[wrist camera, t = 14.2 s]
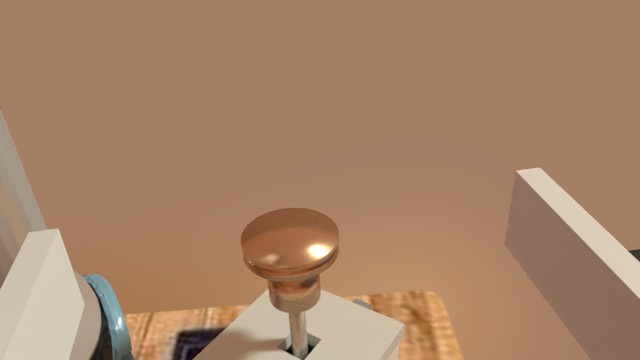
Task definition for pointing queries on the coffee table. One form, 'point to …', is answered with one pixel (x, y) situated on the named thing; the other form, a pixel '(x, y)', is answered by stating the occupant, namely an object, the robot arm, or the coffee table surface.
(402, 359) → the coffee table surface
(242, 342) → the press
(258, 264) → the plunger
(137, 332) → the coffee table surface
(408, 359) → the coffee table surface
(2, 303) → the robot arm
